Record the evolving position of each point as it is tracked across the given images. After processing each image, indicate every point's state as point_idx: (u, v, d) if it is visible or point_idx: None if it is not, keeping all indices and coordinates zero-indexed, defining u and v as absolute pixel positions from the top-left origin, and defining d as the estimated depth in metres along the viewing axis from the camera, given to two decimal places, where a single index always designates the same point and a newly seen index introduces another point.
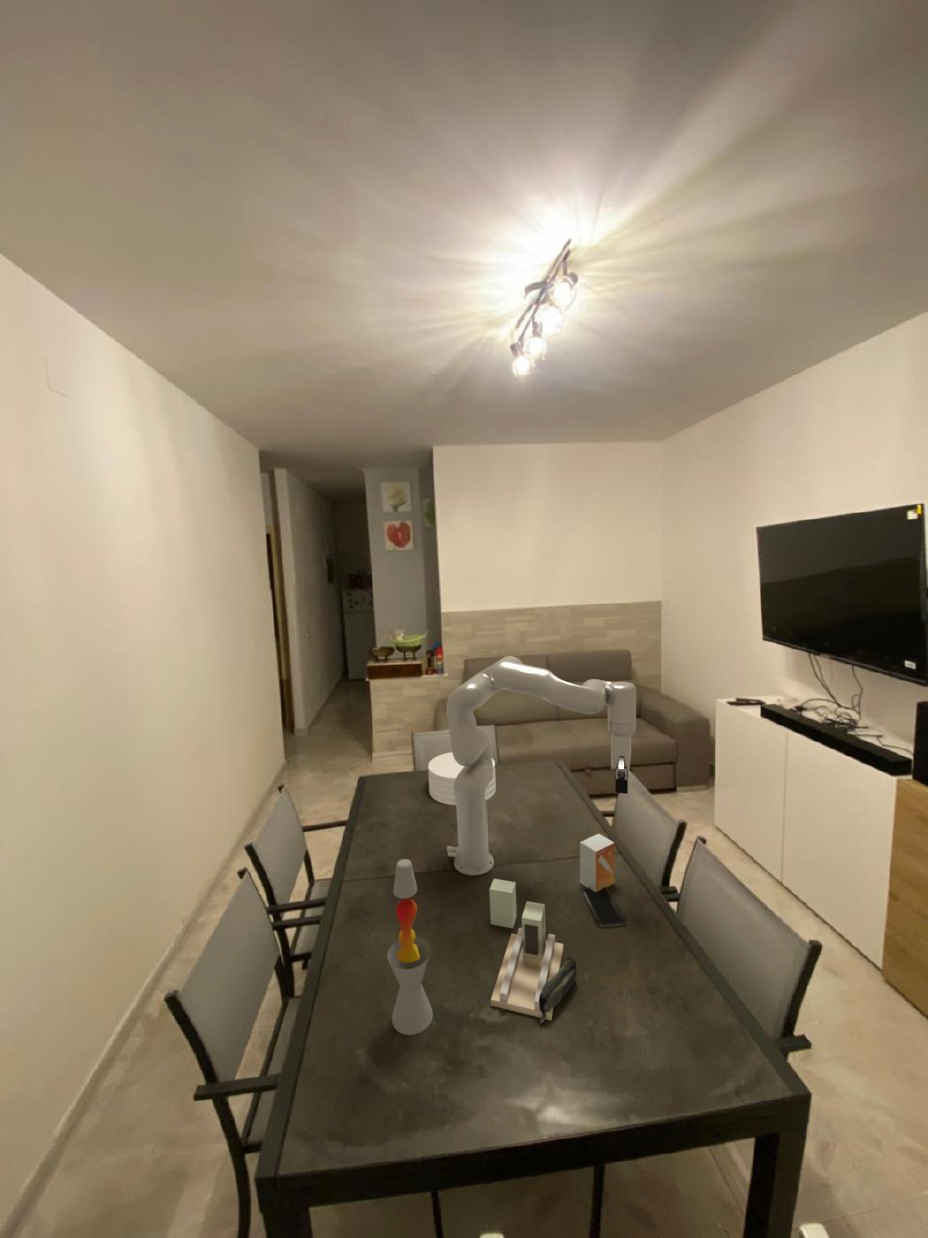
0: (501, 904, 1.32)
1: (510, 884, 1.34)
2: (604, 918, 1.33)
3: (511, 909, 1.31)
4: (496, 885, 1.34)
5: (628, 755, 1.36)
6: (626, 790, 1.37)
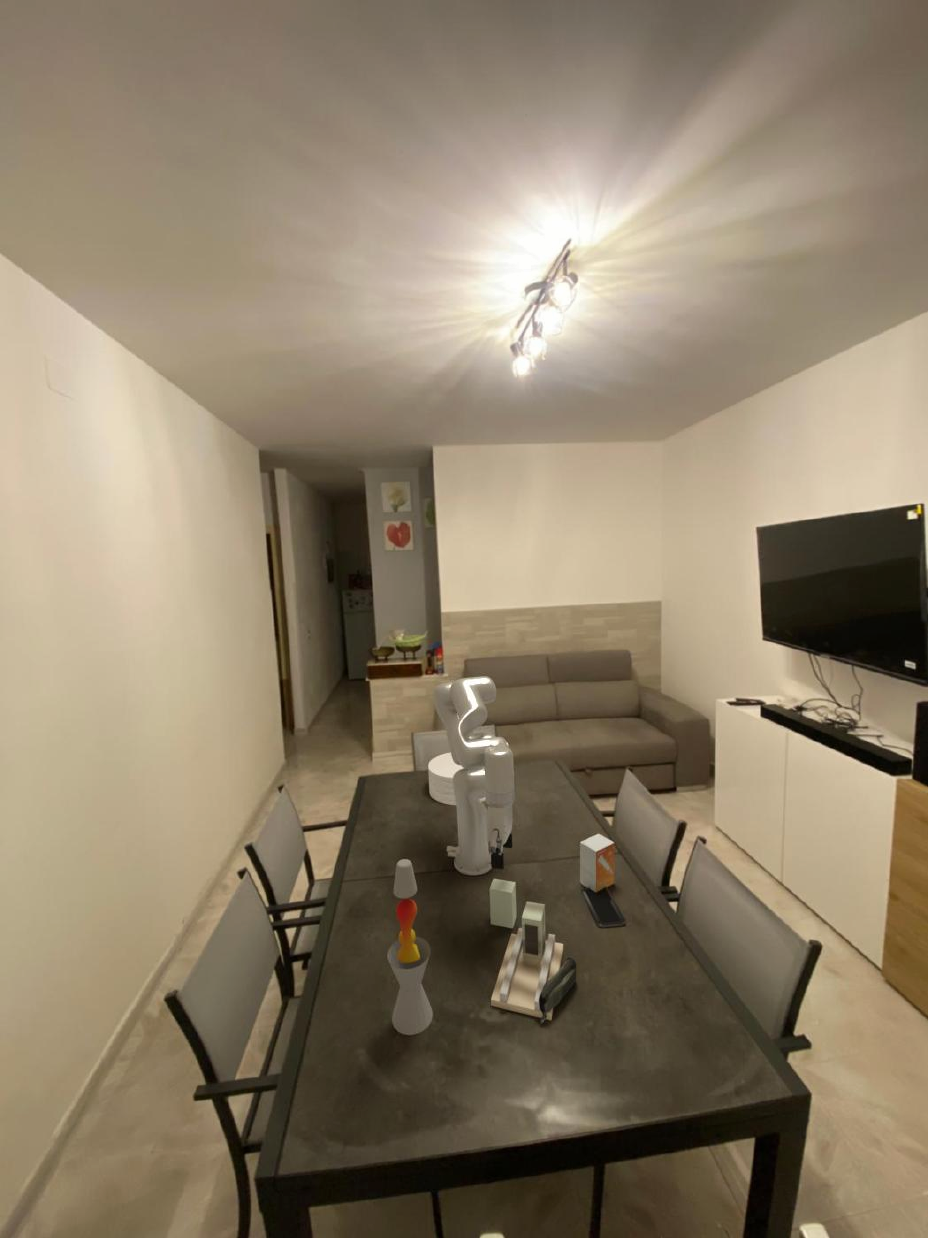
0: (501, 904, 1.32)
1: (510, 884, 1.34)
2: (604, 918, 1.33)
3: (511, 909, 1.31)
4: (496, 885, 1.34)
5: (503, 828, 1.26)
6: (502, 865, 1.27)
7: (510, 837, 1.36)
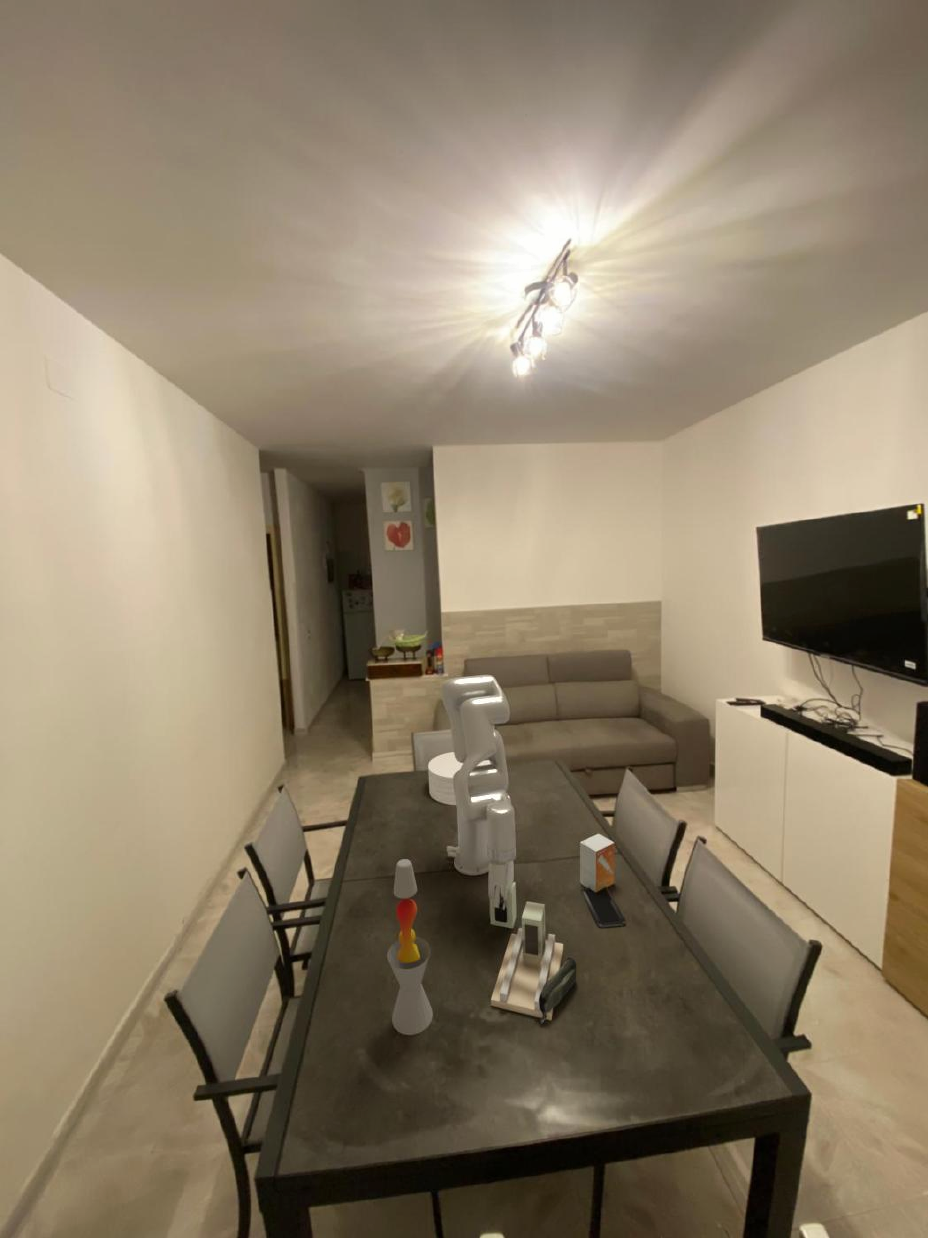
0: None
1: None
2: (604, 918, 1.33)
3: (511, 909, 1.31)
4: None
5: (504, 885, 1.28)
6: (505, 919, 1.31)
7: None
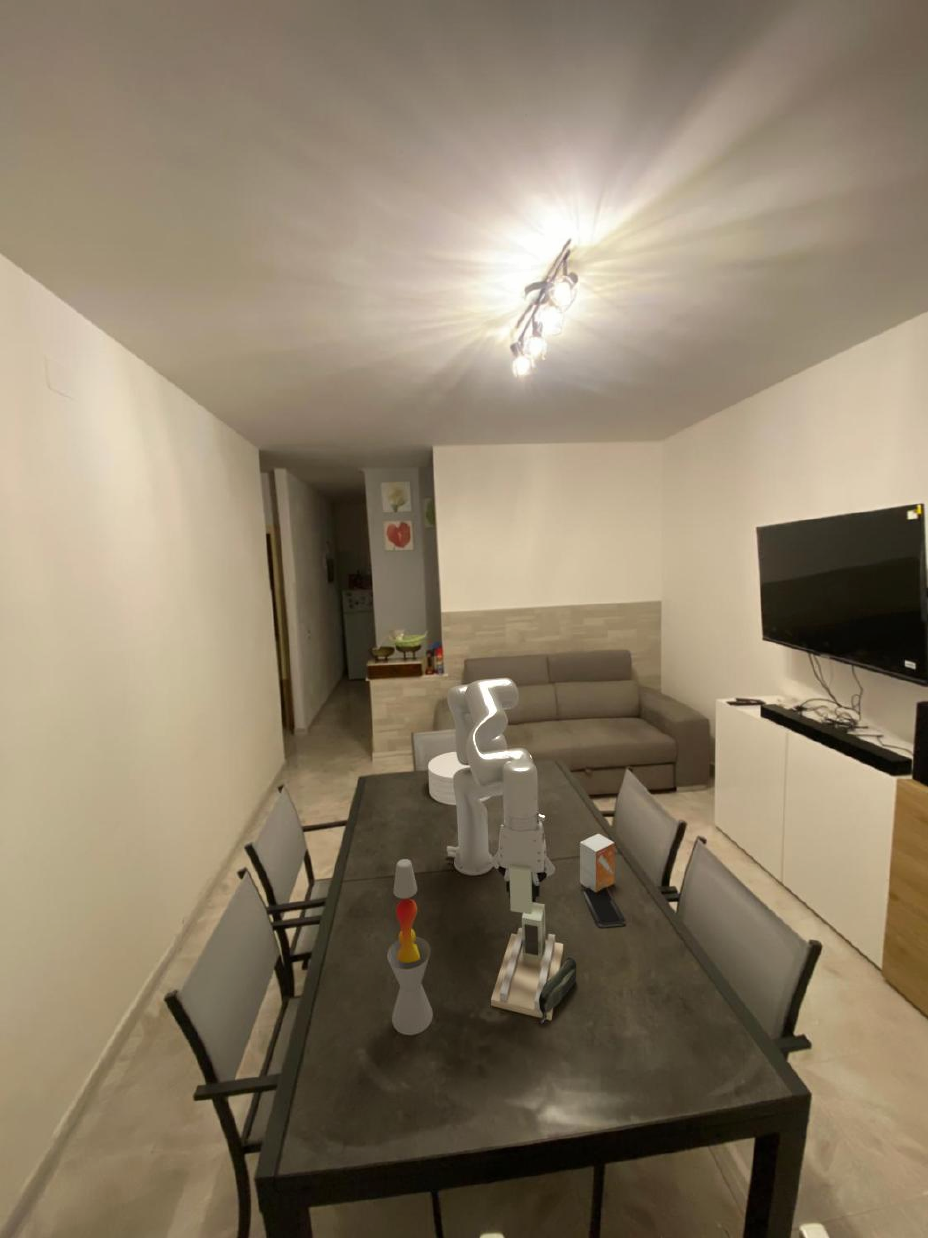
0: None
1: None
2: (604, 918, 1.33)
3: None
4: None
5: (499, 847, 1.10)
6: None
7: (532, 888, 1.09)
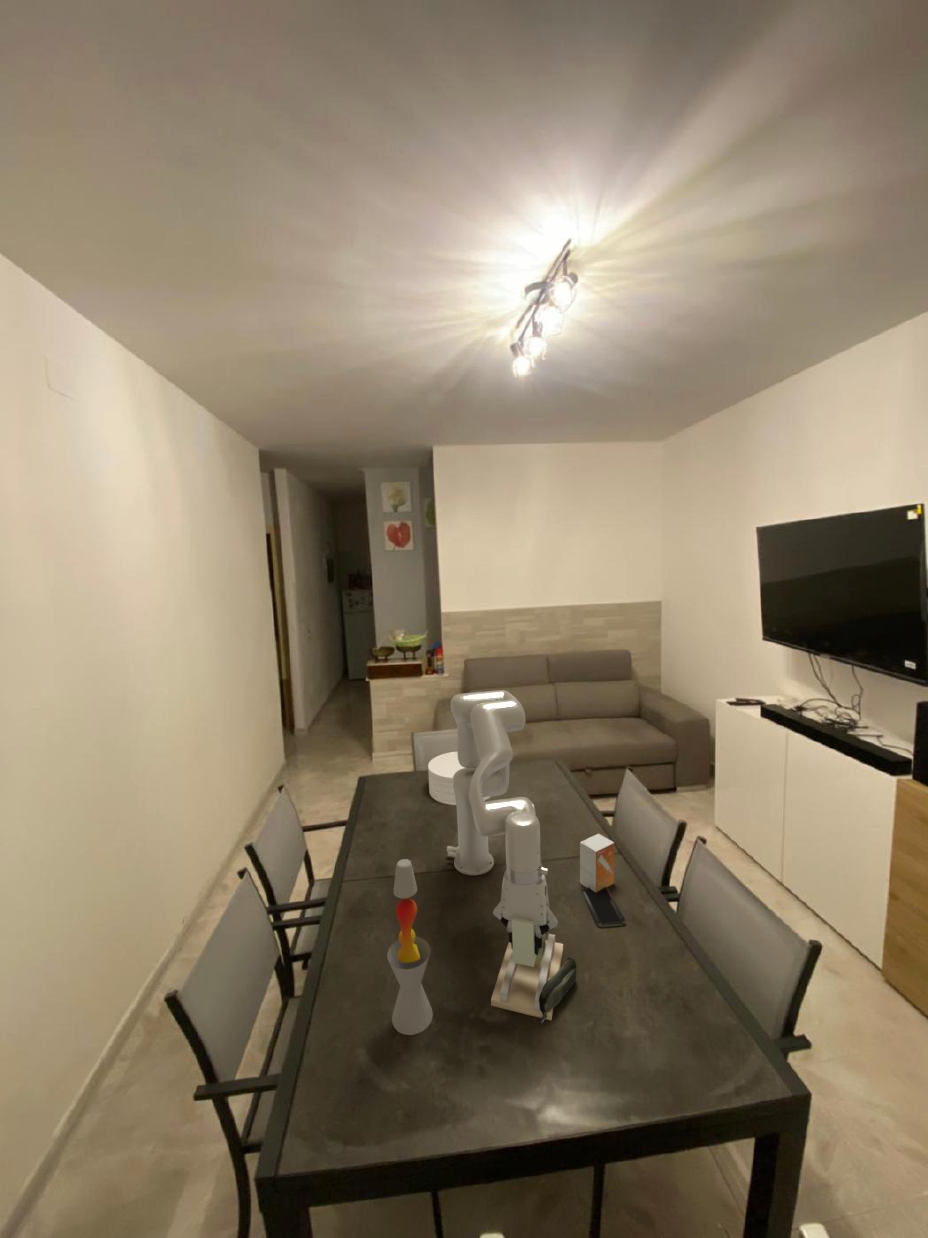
0: None
1: None
2: (604, 918, 1.33)
3: None
4: None
5: (501, 899, 1.10)
6: None
7: (534, 940, 1.10)
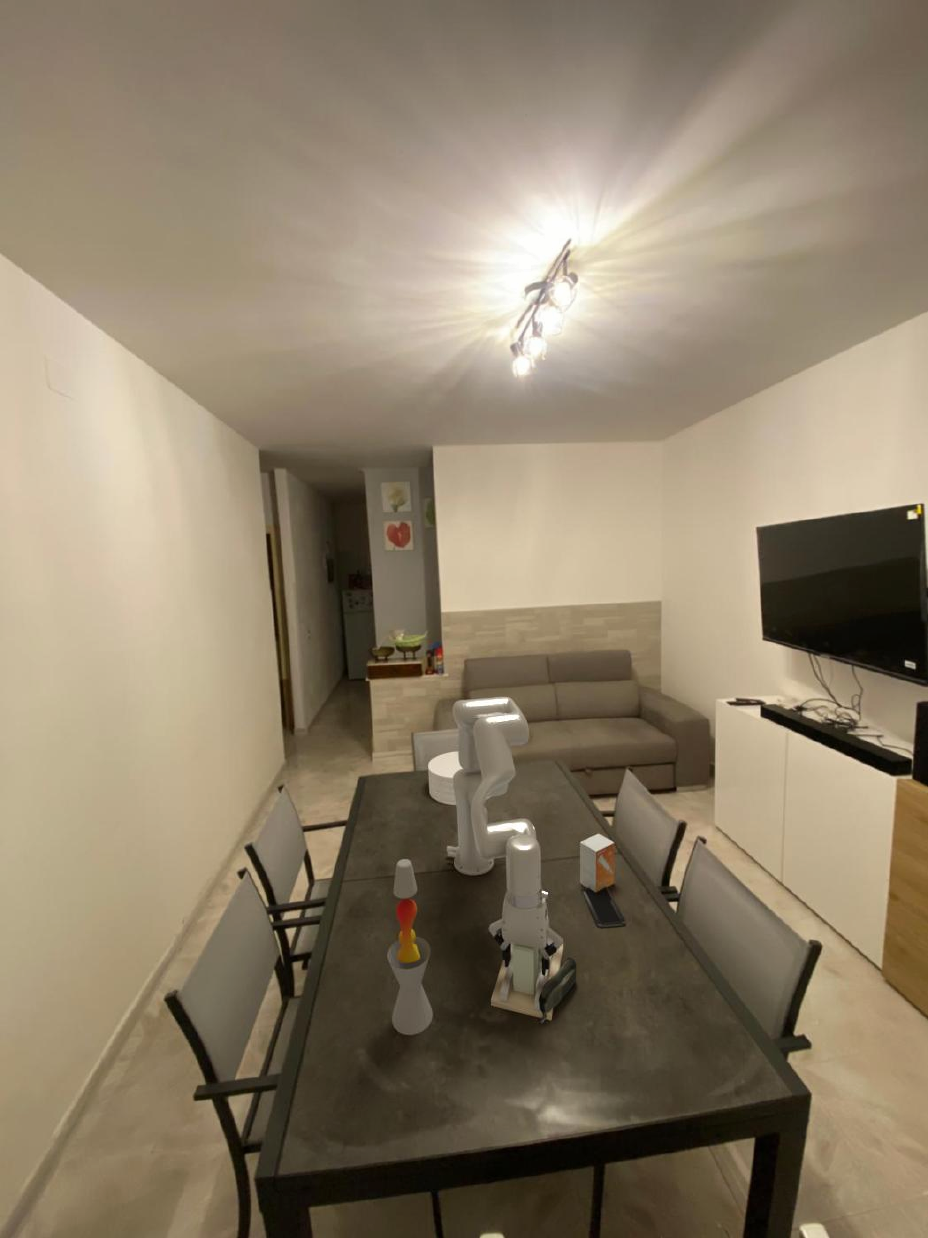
0: None
1: (527, 948, 1.10)
2: (604, 918, 1.33)
3: (513, 967, 1.11)
4: None
5: (502, 922, 1.11)
6: None
7: None
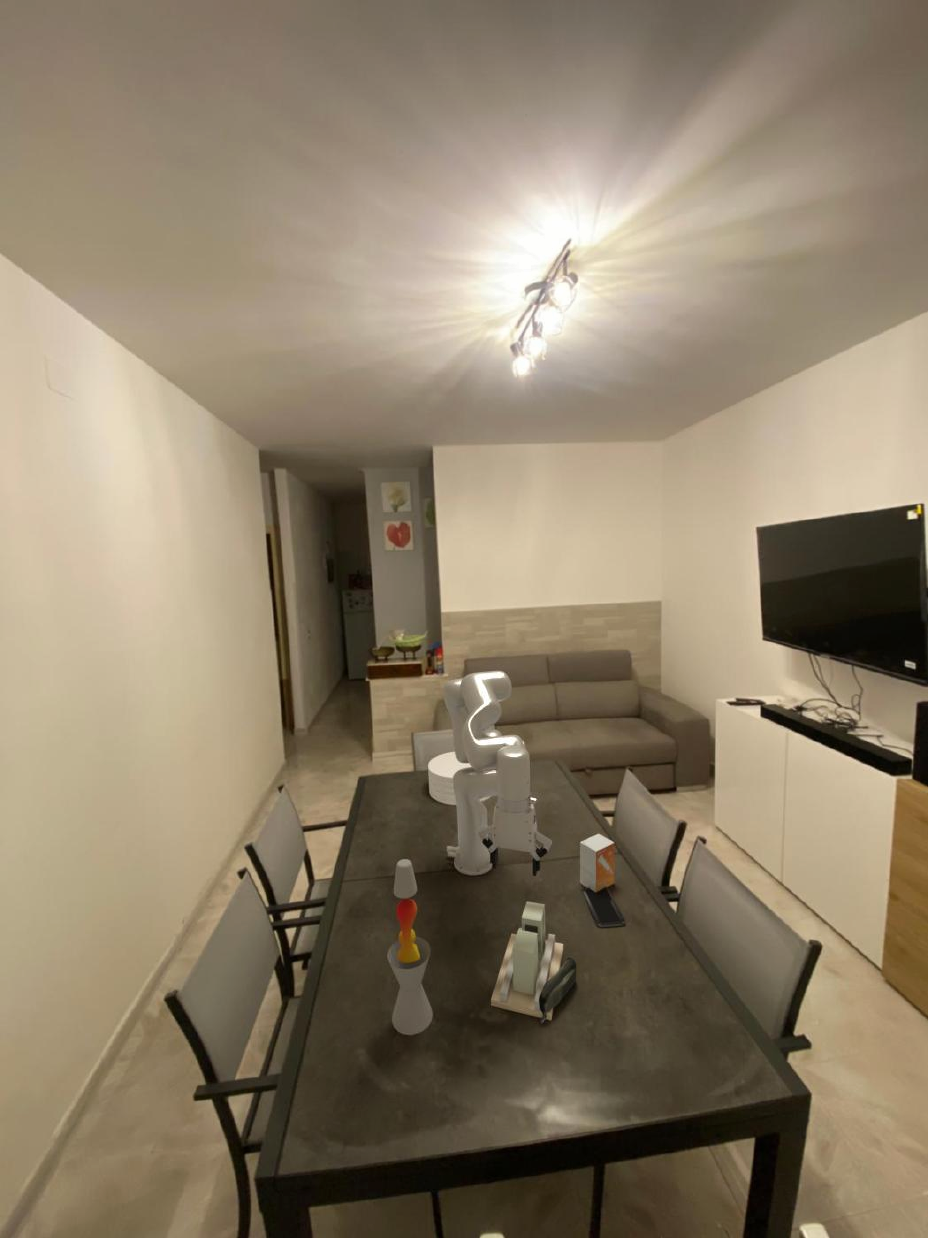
0: None
1: (527, 948, 1.10)
2: (603, 918, 1.33)
3: (513, 967, 1.11)
4: (525, 935, 1.14)
5: (492, 827, 1.17)
6: None
7: (533, 863, 1.15)
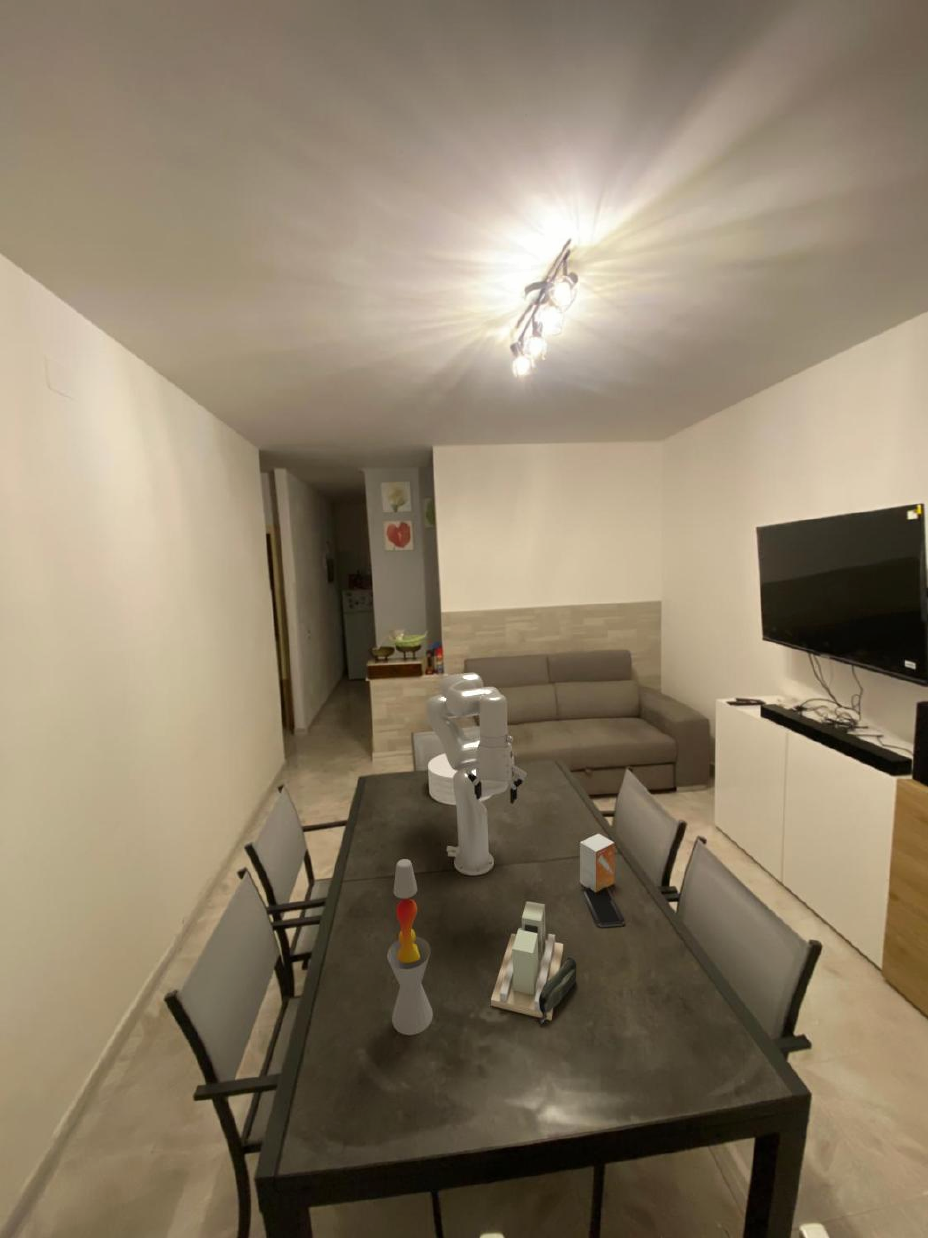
0: None
1: (527, 948, 1.10)
2: (603, 918, 1.33)
3: (513, 967, 1.11)
4: (525, 935, 1.14)
5: (476, 763, 1.37)
6: None
7: (510, 792, 1.36)
